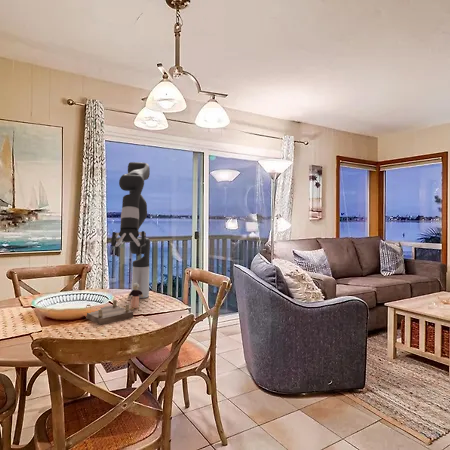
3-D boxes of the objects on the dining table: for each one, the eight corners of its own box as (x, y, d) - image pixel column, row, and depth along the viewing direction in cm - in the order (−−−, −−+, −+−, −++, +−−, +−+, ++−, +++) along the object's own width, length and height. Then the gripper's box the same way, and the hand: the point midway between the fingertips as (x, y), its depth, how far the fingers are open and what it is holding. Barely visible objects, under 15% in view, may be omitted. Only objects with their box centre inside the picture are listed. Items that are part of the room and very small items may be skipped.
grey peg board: (82, 316, 160) (82, 304, 160) (114, 310, 172) (115, 298, 172) (99, 324, 149) (100, 311, 149) (133, 317, 161) (133, 305, 161)
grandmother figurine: (130, 310, 172) (130, 284, 171) (126, 308, 175) (127, 283, 174) (144, 308, 177) (145, 282, 176) (140, 306, 180) (141, 281, 179)
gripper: (148, 220, 157) (147, 257, 153) (116, 221, 158) (114, 257, 153) (143, 216, 150) (142, 254, 146) (110, 217, 150) (108, 255, 146)
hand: (128, 256), depth 150 cm, fingers open, 8 cm apart
